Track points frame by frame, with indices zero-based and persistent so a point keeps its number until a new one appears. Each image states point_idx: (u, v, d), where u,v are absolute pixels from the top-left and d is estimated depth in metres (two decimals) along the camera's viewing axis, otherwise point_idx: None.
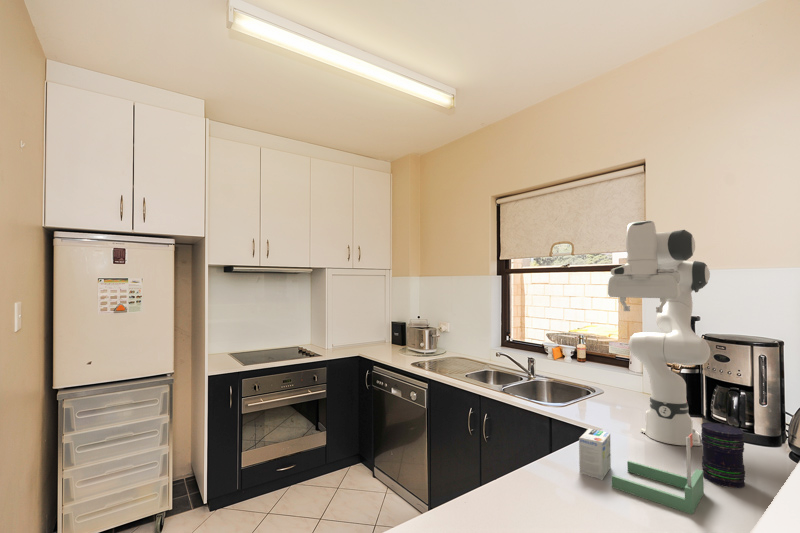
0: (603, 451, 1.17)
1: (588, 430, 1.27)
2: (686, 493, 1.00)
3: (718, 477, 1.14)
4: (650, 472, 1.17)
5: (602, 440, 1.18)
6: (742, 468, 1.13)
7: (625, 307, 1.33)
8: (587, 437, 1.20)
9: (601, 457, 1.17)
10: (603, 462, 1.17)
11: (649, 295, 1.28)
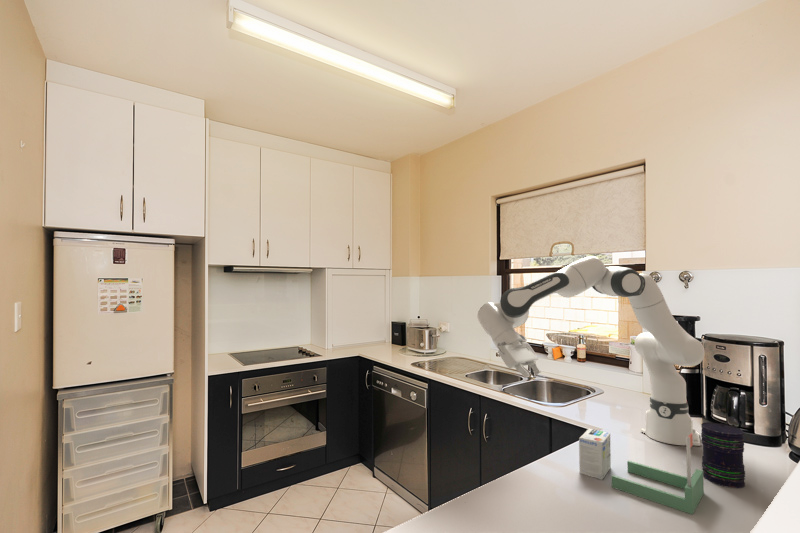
0: (603, 451, 1.17)
1: (588, 430, 1.27)
2: (686, 493, 1.00)
3: (718, 477, 1.14)
4: (650, 472, 1.17)
5: (602, 440, 1.18)
6: (742, 468, 1.13)
7: None
8: (587, 437, 1.20)
9: (601, 457, 1.17)
10: (603, 462, 1.17)
11: None
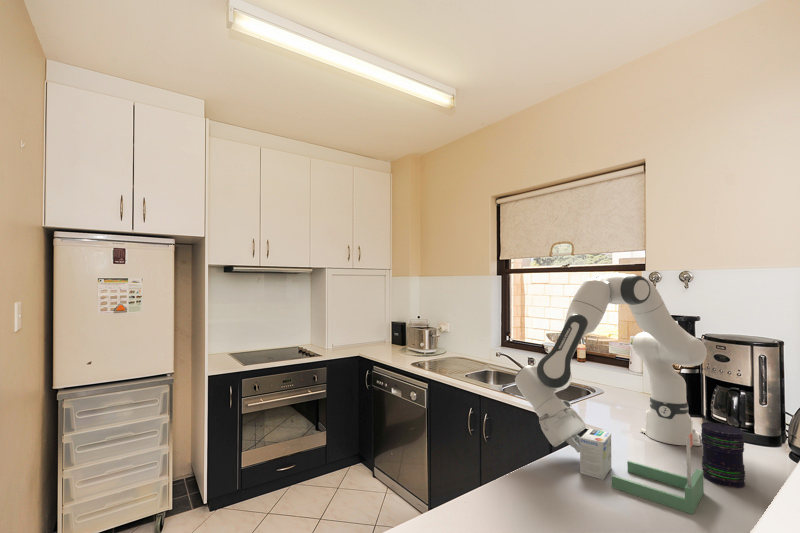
0: (604, 451, 1.17)
1: (589, 430, 1.26)
2: (686, 493, 1.00)
3: (718, 477, 1.14)
4: (650, 472, 1.17)
5: (602, 440, 1.18)
6: (742, 468, 1.13)
7: None
8: (588, 437, 1.20)
9: (602, 457, 1.16)
10: (604, 462, 1.17)
11: None
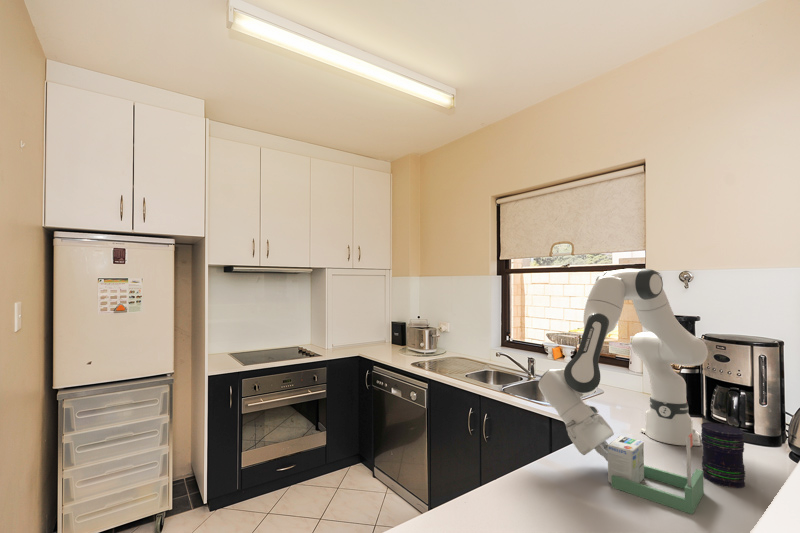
0: (633, 460, 1.11)
1: (619, 437, 1.20)
2: (686, 493, 1.00)
3: (718, 477, 1.14)
4: (650, 472, 1.17)
5: (632, 448, 1.12)
6: (742, 468, 1.13)
7: None
8: (616, 445, 1.15)
9: (631, 466, 1.10)
10: (633, 472, 1.11)
11: None
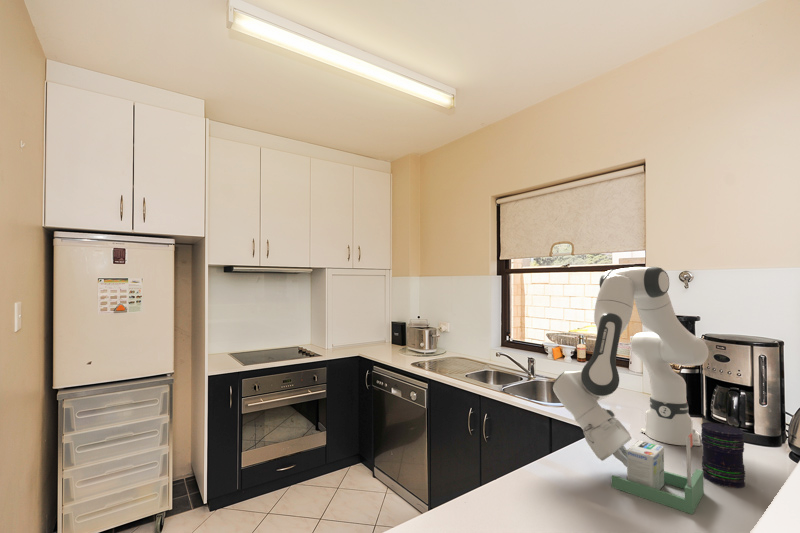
0: (654, 466, 1.07)
1: (638, 442, 1.17)
2: (686, 493, 1.00)
3: (718, 477, 1.14)
4: None
5: (653, 454, 1.08)
6: (742, 468, 1.13)
7: None
8: (636, 450, 1.11)
9: (652, 473, 1.07)
10: (654, 478, 1.07)
11: None
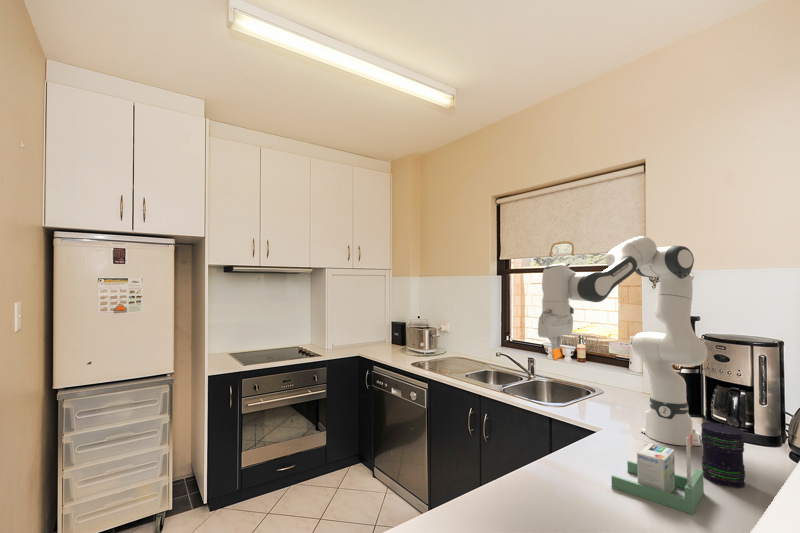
0: (665, 470, 1.06)
1: (648, 445, 1.15)
2: (686, 493, 1.00)
3: (718, 477, 1.14)
4: None
5: (663, 457, 1.06)
6: (742, 468, 1.13)
7: None
8: (646, 453, 1.09)
9: (663, 476, 1.05)
10: (665, 482, 1.05)
11: None
